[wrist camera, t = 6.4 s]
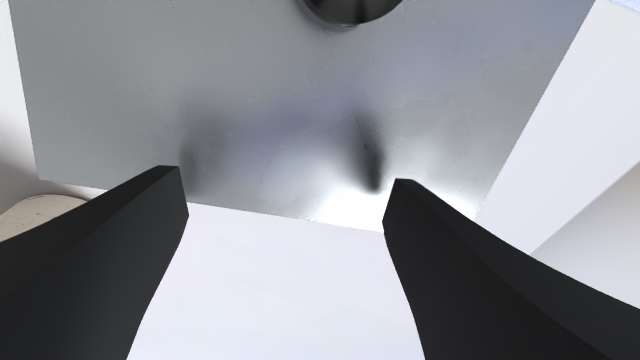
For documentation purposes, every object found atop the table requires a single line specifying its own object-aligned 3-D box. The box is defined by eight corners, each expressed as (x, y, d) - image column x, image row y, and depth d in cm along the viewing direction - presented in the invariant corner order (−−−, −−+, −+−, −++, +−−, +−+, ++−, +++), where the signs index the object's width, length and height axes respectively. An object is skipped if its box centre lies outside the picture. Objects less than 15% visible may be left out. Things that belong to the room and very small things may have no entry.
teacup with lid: (22, 257, 24) (-166, 432, 14) (-3, 175, 19) (-304, 351, 10) (167, 279, 27) (95, 434, 17) (175, 213, 22) (84, 374, 13)
